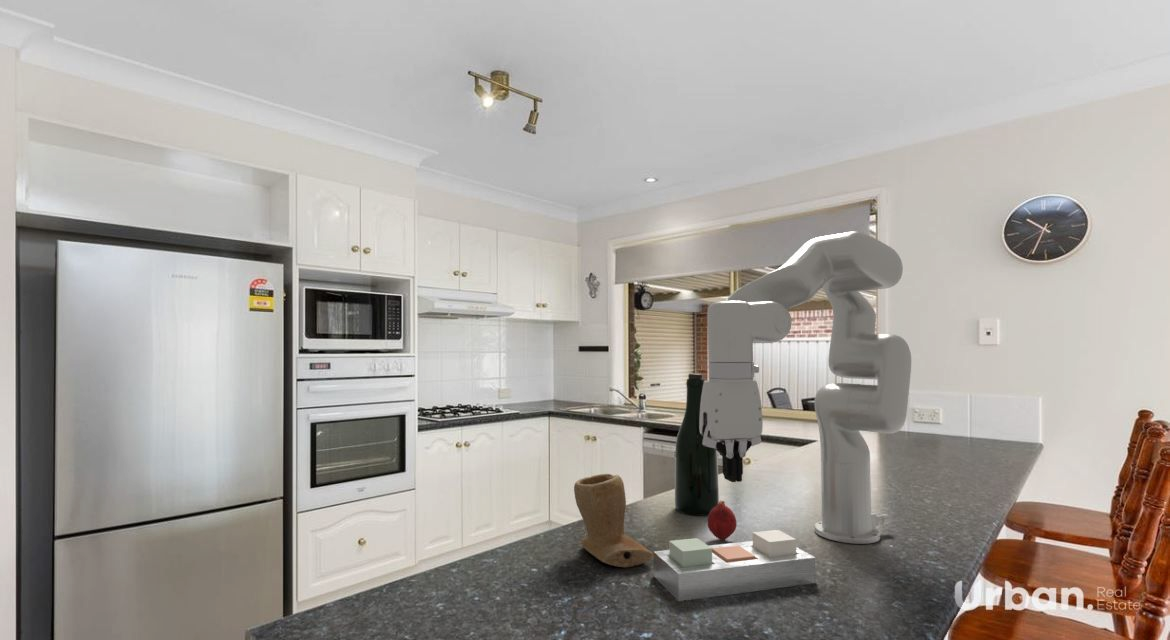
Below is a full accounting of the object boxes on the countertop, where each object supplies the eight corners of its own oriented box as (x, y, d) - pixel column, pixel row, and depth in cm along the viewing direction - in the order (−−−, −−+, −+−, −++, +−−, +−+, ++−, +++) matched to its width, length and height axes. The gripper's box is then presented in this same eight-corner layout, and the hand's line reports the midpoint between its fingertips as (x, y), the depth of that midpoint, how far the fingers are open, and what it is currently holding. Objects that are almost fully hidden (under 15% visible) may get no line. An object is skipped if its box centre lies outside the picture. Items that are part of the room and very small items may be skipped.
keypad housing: (779, 561, 104) (779, 538, 104) (815, 582, 94) (815, 557, 95) (653, 576, 97) (653, 551, 97) (678, 601, 88) (678, 573, 88)
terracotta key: (738, 562, 99) (738, 545, 99) (755, 574, 94) (755, 556, 94) (712, 566, 98) (711, 548, 98) (727, 577, 93) (727, 559, 93)
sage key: (697, 555, 97) (697, 538, 97) (712, 567, 92) (711, 548, 92) (669, 558, 96) (669, 540, 96) (682, 570, 91) (682, 551, 91)
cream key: (778, 546, 101) (777, 529, 102) (796, 557, 96) (796, 539, 97) (752, 549, 100) (752, 532, 100) (770, 560, 95) (769, 542, 95)
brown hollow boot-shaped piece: (566, 547, 112) (566, 470, 112) (621, 540, 116) (621, 466, 116) (593, 576, 97) (593, 488, 98) (655, 567, 102) (654, 482, 102)
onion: (737, 546, 112) (737, 505, 112) (707, 544, 113) (707, 503, 113) (735, 536, 118) (735, 497, 118) (707, 534, 119) (707, 496, 119)
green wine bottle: (686, 501, 144) (685, 372, 146) (725, 508, 138) (723, 373, 140) (667, 511, 136) (666, 373, 137) (708, 519, 130) (706, 374, 131)
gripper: (756, 370, 103) (758, 472, 102) (681, 372, 99) (683, 478, 98) (781, 372, 96) (784, 482, 95) (701, 374, 92) (703, 488, 91)
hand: (732, 479), depth 97 cm, fingers closed
